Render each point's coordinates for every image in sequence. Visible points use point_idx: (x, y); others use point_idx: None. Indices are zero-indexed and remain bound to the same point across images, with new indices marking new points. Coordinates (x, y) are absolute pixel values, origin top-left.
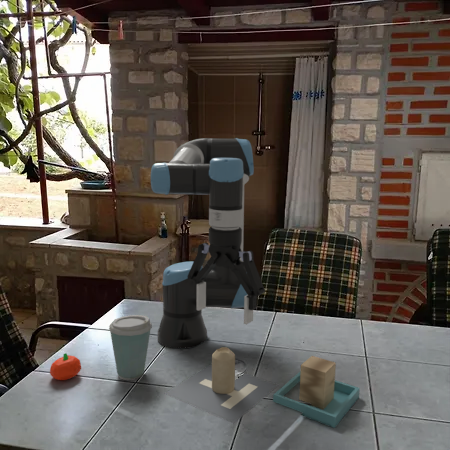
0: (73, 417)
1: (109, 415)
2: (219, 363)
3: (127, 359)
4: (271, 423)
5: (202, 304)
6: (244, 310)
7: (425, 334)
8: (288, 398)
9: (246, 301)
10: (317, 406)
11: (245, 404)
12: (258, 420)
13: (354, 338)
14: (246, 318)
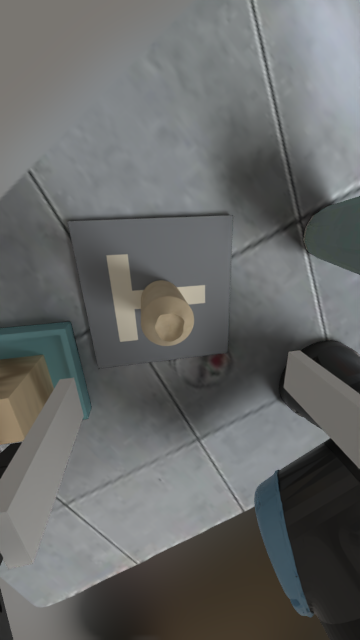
0: (326, 27)
1: (272, 89)
2: (158, 295)
3: (350, 202)
4: (31, 275)
5: (297, 381)
6: (50, 422)
7: (46, 586)
8: (36, 336)
9: (8, 476)
10: (6, 359)
11: (96, 285)
12: (53, 268)
13: (110, 527)
14: (51, 396)
